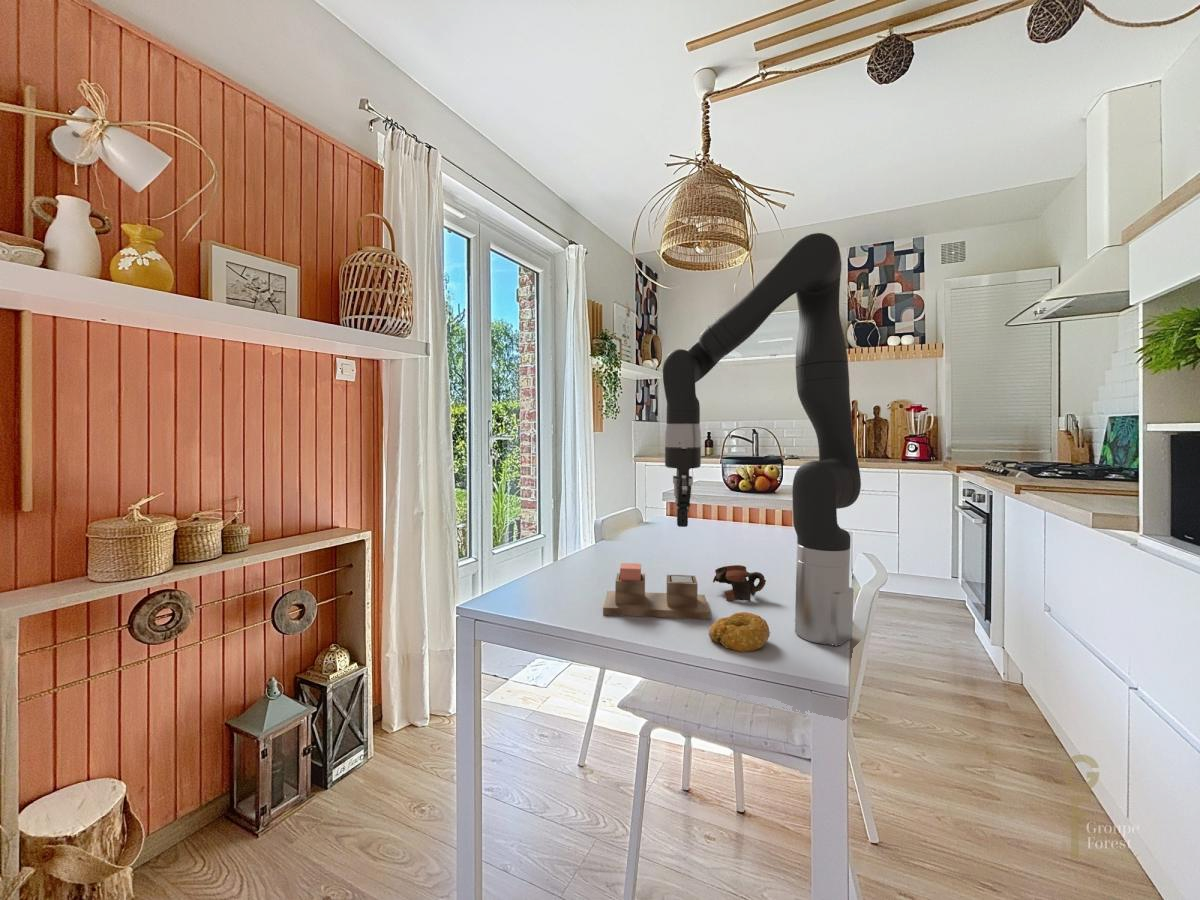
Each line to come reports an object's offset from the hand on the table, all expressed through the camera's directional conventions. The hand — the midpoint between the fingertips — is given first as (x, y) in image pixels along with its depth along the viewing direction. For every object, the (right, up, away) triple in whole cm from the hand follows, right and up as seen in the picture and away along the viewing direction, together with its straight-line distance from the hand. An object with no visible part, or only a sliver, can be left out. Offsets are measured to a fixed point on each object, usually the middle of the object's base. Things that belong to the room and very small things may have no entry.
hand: (682, 526), depth 112 cm
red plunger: (-11, -14, +2) cm, 18 cm away
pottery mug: (+15, -18, +10) cm, 26 cm away
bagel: (+8, -19, -16) cm, 26 cm away
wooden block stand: (-5, -18, +2) cm, 19 cm away
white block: (0, -17, +1) cm, 17 cm away
